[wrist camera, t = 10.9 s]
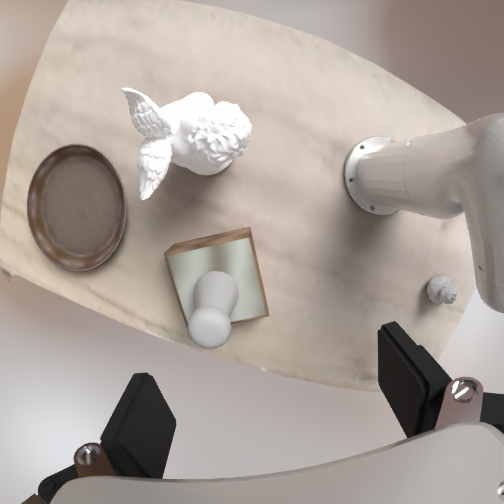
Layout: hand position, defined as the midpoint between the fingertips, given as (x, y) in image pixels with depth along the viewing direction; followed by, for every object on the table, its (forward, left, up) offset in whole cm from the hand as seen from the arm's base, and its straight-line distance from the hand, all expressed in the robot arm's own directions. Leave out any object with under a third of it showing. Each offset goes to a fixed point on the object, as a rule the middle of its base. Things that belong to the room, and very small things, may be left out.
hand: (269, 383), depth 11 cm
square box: (+6, +5, -35) cm, 36 cm away
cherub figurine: (+5, -13, -35) cm, 38 cm away
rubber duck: (-32, +17, -35) cm, 51 cm away
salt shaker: (+6, +5, -29) cm, 30 cm away
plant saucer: (+27, -11, -35) cm, 46 cm away
